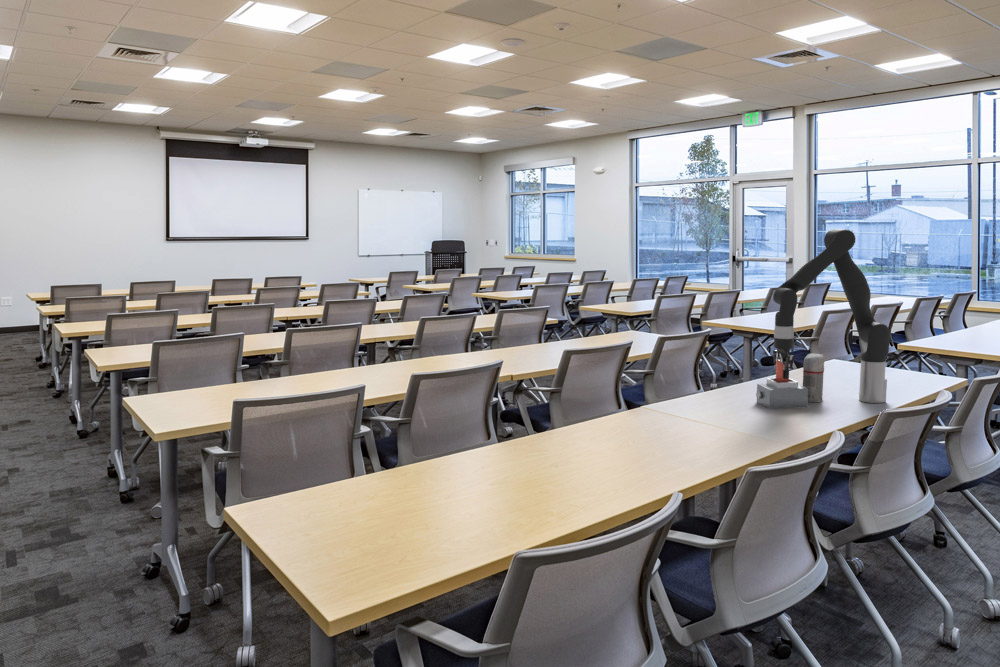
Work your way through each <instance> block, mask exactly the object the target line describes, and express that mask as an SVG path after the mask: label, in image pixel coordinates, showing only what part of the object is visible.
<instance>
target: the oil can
mask: <svg viewBox="0 0 1000 667" xmlns="http://www.w3.org/2000/svg"><path fill="white" fill-rule="evenodd" d="M776 358H777V359H780V361H776V365H775V370H776V371H775V378H776V382H789V378H790V377H789V378H788V379H784V378H783V365H782V364H781V358H780V357H776ZM785 362H786V361H785ZM785 365H786V364H785Z"/></svg>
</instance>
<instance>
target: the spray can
mask: <svg viewBox="0 0 1000 667" xmlns="http://www.w3.org/2000/svg"><path fill="white" fill-rule="evenodd" d="M825 357H826V356H824V354H822V353H811V352H810V353H808V354H807V355H806V356H805V357H804V359H803V366H802V368H803V369H802V370H803V371H802V373H803V374H802V375H803V376H802V386H804V387H806V388H808V402H809V403H821V402H822V401H824V399H823V390H824V372H825V361H826V359H825ZM808 402H807V403H808Z"/></svg>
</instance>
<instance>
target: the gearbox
mask: <svg viewBox="0 0 1000 667" xmlns="http://www.w3.org/2000/svg"><path fill="white" fill-rule="evenodd" d="M755 394H756V395H755V397H756V403H757V404H759V405H761V406H762V407H764V408H766V409H768V410H781V409H782V410H783V409H804V408H805V409H806V408H808V388H806V387H804V386H803V385H801V384H799V381H797V380H795V379H792V378H790V377H789V382H776V377H772V378H771V377H769V378H766V382H765V383H756V393H755Z"/></svg>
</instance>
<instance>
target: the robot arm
mask: <svg viewBox="0 0 1000 667" xmlns="http://www.w3.org/2000/svg"><path fill="white" fill-rule="evenodd" d="M823 243H824V247H825V249H824V250H823V251H822V252H820V253H819V254H818V255H817V256H815V257H813V258H812V259H811V260H809V261H807V262H806V263H805V264H803V265H802V267H800V269H798V270H797V271H796V272H795V273H794V274H793V275H792V276H791V278H789V279H787V280H786V281H785V282H784V283H783V282H782V284H780V285H779V286H778V287H777V288H776V289H775V290H774V292H773V295H772V300H773V301H774V302H775V303H776V304H778V305H779V309H778V310H779V311H777V312H776V313H775V318H774V329H773V330H774V331H773V348H774V349H776V350H773V351H772V356H773V357H772V358H773V365H774V366H776V361H780V359H777V358H776V357H780V358H781V364H782V365H783V378H784V379H788V378H790V370H792V369H793V367H794V360H795V356H794V355H793V354H791V351H790V350H792V349H794V339H795V338H794V337H795V336H794V335H795V334H794V333H795V331H794V322H795V321H794V315H795V312H796V309H797V304H798V294H797V293H798V292H801V291H803V290H805V289H806V288H808V287H809V286H810V284H812V283H813V282H814V281H815V280H816V278H818V277H819V275H821V273H822V272H823V271H825V270H826V269H827V268H829V266H830V265H832V264H833V265H834V267H835V270H836V273H837V276H838V278H839V281H840V284H841V286H842V289H843V292H844V295H845V297H846V299H847V302H848V305H849V308H850V310H851V312H852V315H853V318H854V323H855V325H856V330H857V334H858V336H859V339H860V340H861V341H862V342H864V343H866V346H867V347H866V350H865V351H864V352H862V353H861V354H860V369H859V372H860V374H859V388H858V389H859V390H858V391H859V392H858V400H859V402H863V403H870V404H880V403H884V402H885V403H886V402H887V388H888V387H887V386H888V379H887V378H886V364H887V357H888V355H889V353H890V352H889V350H890V344H891V343H890V341H891V331H890V328H889V327H888V325H886V324H884V323H882V322H876V320H875V318H874V316H873V313H872V310H871V289H870V285H869V283H868V280H867V278H866V276H865V274H864V272H862V269H860V268H859V267H858V265H857V264H856V263H855V261H854V260H853V258H852V257H851V255H850V252H849V251H850V250H852V249H853V247H854V246H855V243H856V235H855V233H854V232H853V231H852V230H851V229H845V228H840V229H839V228H835V229H830V230H828V231H827V232H826V233H825V234H824V238H823ZM785 361H786V362H785ZM785 364H786V365H785Z"/></svg>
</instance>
